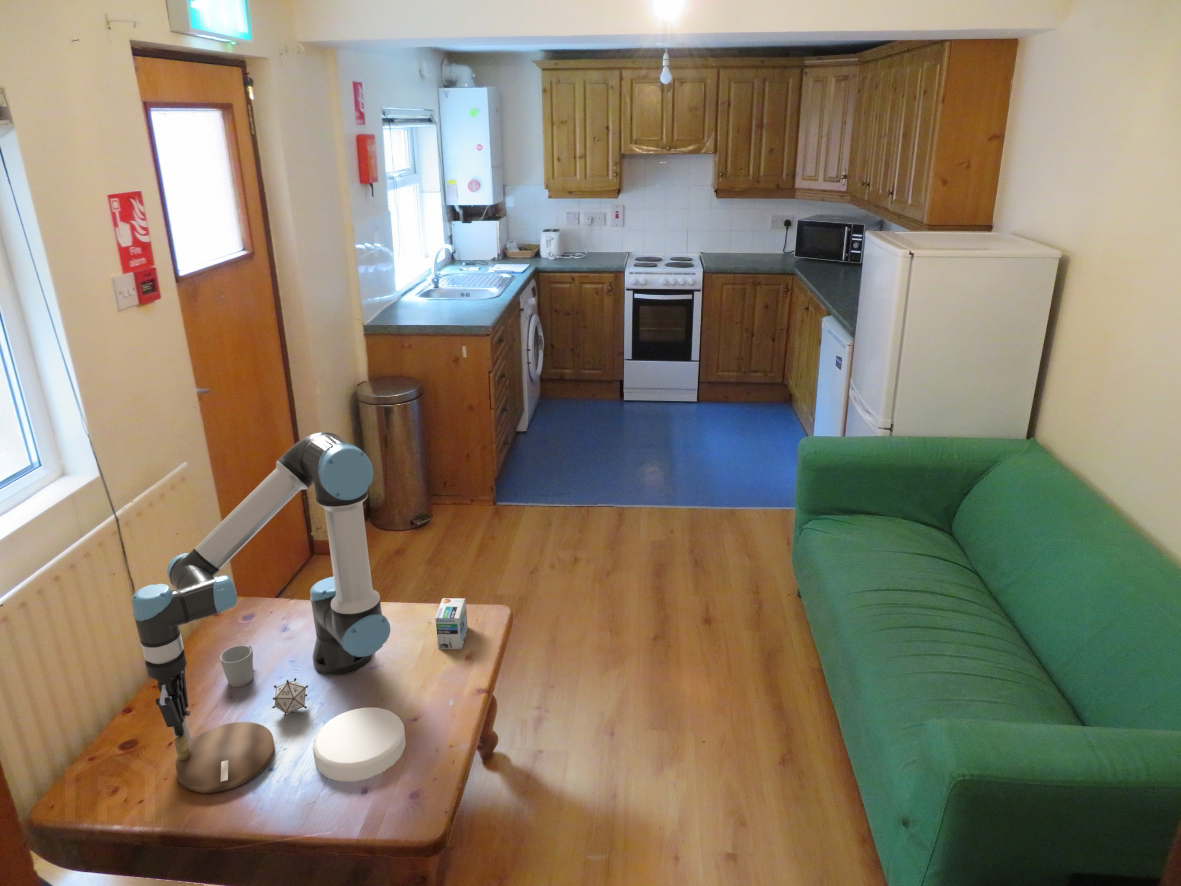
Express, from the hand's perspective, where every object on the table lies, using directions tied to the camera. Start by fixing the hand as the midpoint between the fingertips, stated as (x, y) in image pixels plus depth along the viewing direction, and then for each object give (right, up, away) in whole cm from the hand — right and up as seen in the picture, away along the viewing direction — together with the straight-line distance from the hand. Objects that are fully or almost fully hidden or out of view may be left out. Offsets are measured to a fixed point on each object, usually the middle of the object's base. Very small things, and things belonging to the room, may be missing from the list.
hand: (184, 743), depth 182 cm
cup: (+1, +6, +29) cm, 29 cm away
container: (+38, -3, +4) cm, 39 cm away
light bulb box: (+53, +12, +43) cm, 69 cm away
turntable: (+9, -4, 0) cm, 10 cm away
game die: (+19, +1, +15) cm, 24 cm away
